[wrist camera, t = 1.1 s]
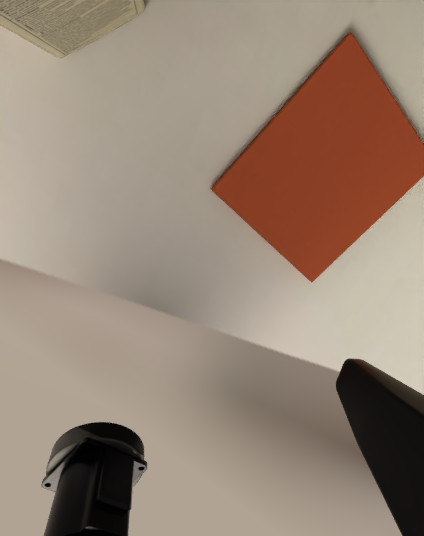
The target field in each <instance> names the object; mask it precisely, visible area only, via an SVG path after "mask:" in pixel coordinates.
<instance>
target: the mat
mask: <svg viewBox="0 0 424 536" xmlns="http://www.w3.org/2000/svg"><path fill="white" fill-rule="evenodd" d="M423 176H424V144H423V143H422V141H421V140H420V138H419V137H418V135H417V133H416V132H415V130H414V129H413V127H412V126H411V124H410V123H409V121H408V119H407V118H406V116H405V115H404V113H403V112H402V110H401V109H400V107H399V106H398V104H397V102H396V101H395V99H394V98H393V96H392V95H391V93H390V92H389V90H388V89H387V87H386V85H385V84H384V82H383V81H382V79H381V78H380V76H379V75H378V73H377V71H376V70H375V68H374V67H373V65H372V64H371V62H370V61H369V59H368V58H367V56H366V54H365V53H364V51H363V50H362V48H361V47H360V45H359V44H358V42H357V40H356V39H355V37H354V36H353V34H352V33H349V34H347V35H346V36H345V38H344V39H343V40H342V41H341V42H340V43H339V44H338V45H337V47H336V48H335V49H334V50H333V51H332V52H331V53H330V55H329V56H328V57H327V58H326V59H325V60H324V61H323V62H322V64H321V65H320V66H319V67H318V68H317V69H316V70H315V71H314V73H313V74H312V75H311V76H310V77H309V78H308V79H307V81H306V82H305V83H304V84H303V85H302V86H301V87H300V88H299V90H298V91H297V92H296V93H295V94H294V95H293V96H292V97H291V99H290V100H289V101H288V102H287V103H286V104H285V105H284V106H283V108H282V109H281V110H280V111H279V112H278V113H277V114H276V116H275V117H274V118H273V119H272V120H271V121H270V122H269V123H268V125H267V126H266V127H265V128H264V129H263V130H262V131H261V132H260V134H259V135H258V136H257V137H256V138H255V139H254V140H253V142H252V143H251V144H250V145H249V146H248V147H247V148H246V149H245V151H244V152H243V153H242V154H241V155H240V156H239V157H238V158H237V160H236V161H235V162H234V163H233V164H232V165H231V166H230V168H229V169H228V170H227V171H226V172H225V173H224V174H223V175H222V177H221V178H220V179H219V180H218V181H217V182H216V183H215V184H214V186H213V187H212V188H211V190H212V191H213V192H214V193H215V194H216V195H218V196H219V197H220V198H221V199H222V200H223V201H224V202H225V203H226V204H227V205H228V206H229V207H231V208H232V209H233V210H234V211H235V212H236V213H237V214H238V215H239V216H240V217H241V218H242V219H244V220H245V221H246V222H247V223H248V224H249V225H250V226H251V227H252V228H253V229H254V230H255V231H256V232H258V233H259V234H260V235H261V236H262V237H263V238H264V239H265V240H266V241H267V242H268V243H269V244H271V245H272V246H273V247H274V248H275V249H276V250H277V251H278V252H279V253H280V254H281V255H282V256H284V257H285V258H286V259H287V260H288V261H289V262H290V263H291V264H292V265H293V266H294V267H295V268H297V269H298V270H299V271H300V272H301V273H302V274H303V275H304V276H305V277H306V278H307V279H308V280H310V281H311V282H313V281H314V280H315V279H316V278H317V277H318V276H319V275H320V274H321V273H322V272H323V271H324V270H325V269H326V268H327V267H329V266H330V265H331V264H332V263H333V262H334V261H335V260H336V259H337V258H338V257H339V256H340V255H341V254H342V253H343V252H344V251H345V250H346V249H347V248H348V247H350V246H351V245H352V244H353V243H354V242H355V241H356V240H357V239H358V238H359V237H360V236H361V235H362V234H363V233H364V232H365V231H366V230H367V229H368V228H370V227H371V226H372V225H373V224H374V223H375V222H376V221H377V220H378V219H379V218H380V217H381V216H382V215H383V214H384V213H385V212H386V211H387V210H388V209H390V208H391V207H392V206H393V205H394V204H395V203H396V202H397V201H398V200H399V199H400V198H401V197H402V196H403V195H404V194H405V193H406V192H407V191H408V190H409V189H411V188H412V187H413V186H414V185H415V184H416V183H417V182H418V181H419V180H420V179H421V178H422V177H423Z"/></svg>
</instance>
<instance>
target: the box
mask: <svg viewBox="0 0 424 536" xmlns="http://www.w3.org/2000/svg"><path fill="white" fill-rule="evenodd" d="M144 10H145V4H144V0H0V26H2V27H4V28H6V29H8V30H9V31H11V32H13V33H15V34H17V35H19V36H20V37H22V38H24V39H26V40H28V41H29V42H31V43H33V44H35V45H36V46H38V47H40V48H41V49H43V50H45V51H47V52H48V53H50V54H52V55H54V56H55V57H58V58H61V57H64V56H66V55H68V54H70V53H72V52H74V51H76V50H78V49H80V48H82V47H84V46H86V45H87V44H89V43H91V42H93V41H95V40H97V39H98V38H100V37H102V36H104V35H105V34H107V33H109V32H111V31H112V30H114V29H116V28H118V27H120V26H121V25H123V24H125V23H126V22H128V21H129V20H131V19H133V18H134V17H136V16H138V15H139V14H141V13H143V12H144Z"/></svg>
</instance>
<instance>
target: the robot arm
mask: <svg viewBox="0 0 424 536" xmlns="http://www.w3.org/2000/svg"><path fill="white" fill-rule="evenodd" d="M336 389H337V392H338V395H339V398H340V400H341V403H342V405H343V408H344V410H345V413H346V415H347V418H348V421H349V423H350V426H351V428H352V431H353V434H354V436H355V438H356V441H357V444H358V446H359V448H360V450H361V452H362V454H363V456H364V458H365V460H366V462H367V464H368V467H369V469H370V471H371V472H372V475H373V477H374V479H375V481H376V483H377V485H378V487H379V489H380V491H381V493H382V495H383V497H384V499H385V501H386V503H387V505H388V507H389V509H390V511H391V513H392V515H393V517H394V520H395V522H396V524H397V526H398V528H399V530H400V532H401V534H402V536H424V395H423V394H421V393H419V392H417V391H416V390H414V389H412V388H410V387H409V386H407V385H405V384H403V383H402V382H400V381H398V380H396V379H395V378H393V377H391V376H390V375H388V374H386V373H384V372H383V371H381V370H379V369H377V368H376V367H374V366H372V365H370V364H369V363H367V362H365V361H364V360H361V359H347V360H346V361H345V362H344V364H343V366H342V369H341V371H340V373H339V376H338V378H337V381H336ZM146 470H147V462H146V461H144V460H142V459H140V458H137V457H135V456H132V455H130V454H128V453H125V452H123V451H121V450H118V449H116V448H114V447H111V446H109V445H106V444H104V443H102V442H99V441H97V440H95V439H92V438H89V437H86V438H83V439H82V440H81V441H80V442H79V443H78V444H77V445H76V446H75V447H74V448H73V449H72V450H71V451H70V452H69V453H68V454H67V455H66V456H65V457H64V458H63V459H62V460H61V461H60V462H59V463H58V464H57V465H56V466H55V468H54V469H53V470H52V471H51V472H50V473H49V474H48V475H47V476H46V477H45V478H44V479H43V482H42V487H43V488H45V489H48V490H51V491H54V492H56V493H55V496H54V500H53V504H52V508H51V512H50V515H49V519H48V522H47V526H46V530H45V533H44V536H128V528H129V513H130V509H131V503H132V487H133V482H134V481H135V480H136V479H137V478H138V477H139V476H140V475H142V474H143V473H144V472H145V471H146Z"/></svg>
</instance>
